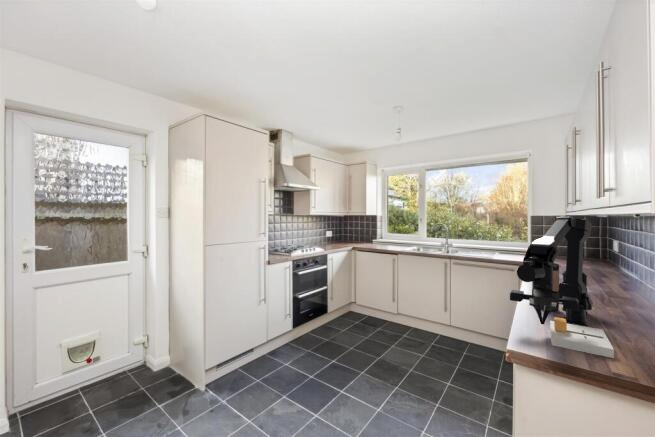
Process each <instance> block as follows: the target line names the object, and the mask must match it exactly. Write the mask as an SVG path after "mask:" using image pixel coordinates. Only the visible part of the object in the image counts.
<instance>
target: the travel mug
mask: <svg viewBox="0 0 655 437" xmlns="http://www.w3.org/2000/svg"><path fill="white" fill-rule="evenodd" d="M559 284H560V264H559V263H555V265H554V266H553V291H557V292H558V290H559ZM540 306H541V309H542V310H541V311H544V306H545V305H540ZM559 308H560V304H556V309H552V310H551V311H550V313H551V312H552V313H553V312H554V313H555V312H559Z"/></svg>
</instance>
